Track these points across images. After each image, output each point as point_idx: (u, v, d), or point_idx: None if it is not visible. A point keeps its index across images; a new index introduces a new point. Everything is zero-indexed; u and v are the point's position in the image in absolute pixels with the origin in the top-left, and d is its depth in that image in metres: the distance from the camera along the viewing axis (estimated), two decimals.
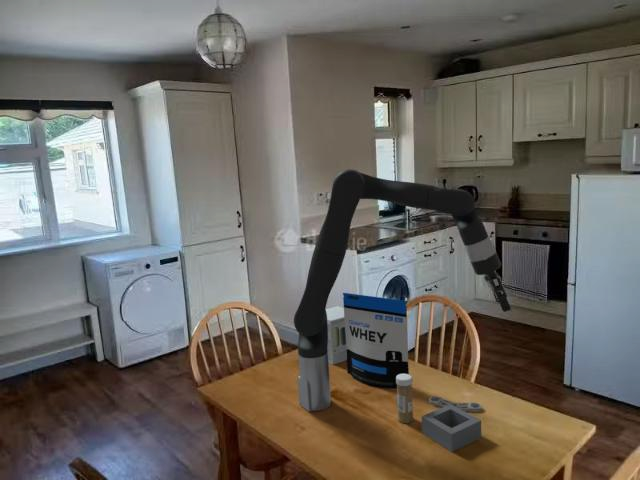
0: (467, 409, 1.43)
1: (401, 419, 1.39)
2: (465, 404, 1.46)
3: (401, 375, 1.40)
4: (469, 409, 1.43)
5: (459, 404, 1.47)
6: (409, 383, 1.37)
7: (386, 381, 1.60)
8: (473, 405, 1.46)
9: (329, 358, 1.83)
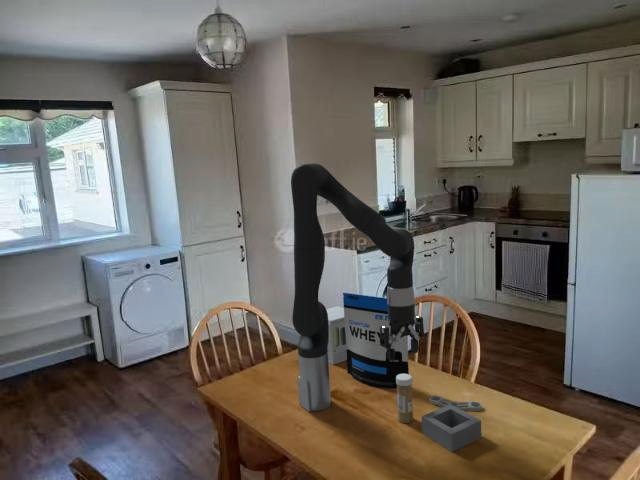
0: (467, 408, 1.44)
1: (401, 419, 1.39)
2: (465, 403, 1.47)
3: (401, 375, 1.40)
4: (469, 408, 1.43)
5: (459, 403, 1.47)
6: (409, 383, 1.37)
7: (386, 381, 1.60)
8: (473, 404, 1.46)
9: (329, 358, 1.83)
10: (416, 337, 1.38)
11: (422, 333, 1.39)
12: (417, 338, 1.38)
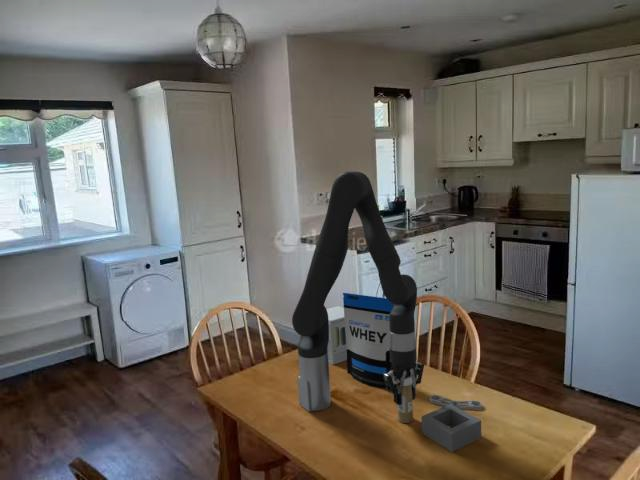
0: (468, 407, 1.44)
1: (401, 419, 1.39)
2: (465, 402, 1.47)
3: None
4: (470, 407, 1.44)
5: (459, 402, 1.48)
6: (409, 383, 1.37)
7: None
8: (473, 403, 1.47)
9: (329, 358, 1.83)
10: (413, 384, 1.39)
11: (419, 380, 1.40)
12: (414, 385, 1.40)
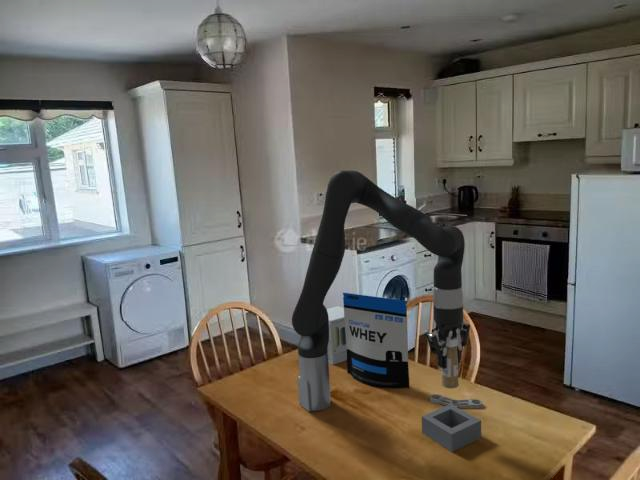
0: (468, 405, 1.45)
1: (445, 384, 1.28)
2: (466, 401, 1.48)
3: None
4: (470, 405, 1.45)
5: (460, 401, 1.48)
6: (455, 344, 1.26)
7: (386, 381, 1.60)
8: (473, 401, 1.48)
9: (329, 358, 1.83)
10: (459, 346, 1.28)
11: (465, 342, 1.29)
12: (459, 348, 1.28)
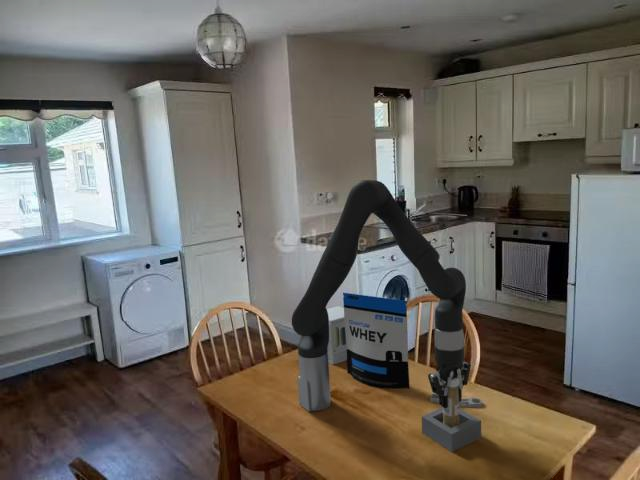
0: (469, 405, 1.45)
1: (447, 423, 1.30)
2: (466, 400, 1.49)
3: None
4: (471, 404, 1.45)
5: None
6: (456, 384, 1.27)
7: (386, 381, 1.60)
8: (473, 400, 1.48)
9: (329, 358, 1.83)
10: (460, 385, 1.30)
11: (466, 381, 1.31)
12: (460, 387, 1.30)
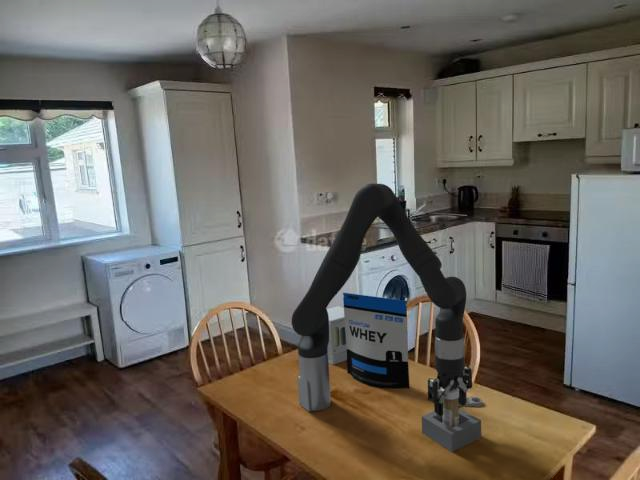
0: (469, 404, 1.46)
1: None
2: (466, 399, 1.49)
3: None
4: (471, 404, 1.46)
5: None
6: (456, 396, 1.28)
7: (386, 381, 1.60)
8: (473, 399, 1.49)
9: (329, 358, 1.83)
10: (464, 389, 1.31)
11: (470, 385, 1.32)
12: (465, 390, 1.31)
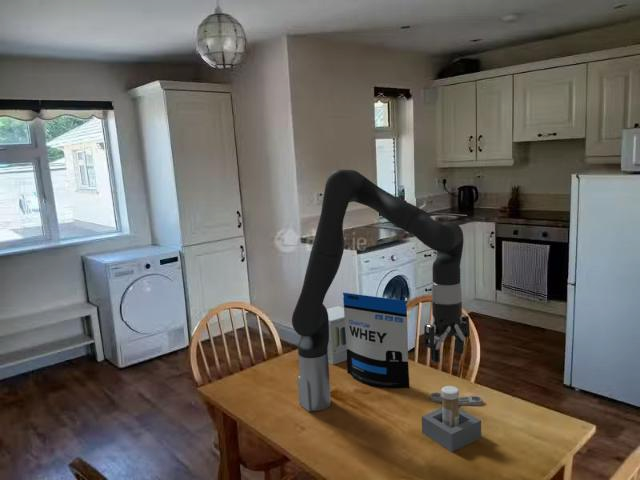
0: (469, 403, 1.47)
1: None
2: (466, 398, 1.50)
3: (447, 388, 1.30)
4: (471, 402, 1.46)
5: (460, 398, 1.50)
6: (456, 396, 1.28)
7: (386, 381, 1.60)
8: (473, 398, 1.49)
9: (329, 358, 1.83)
10: (461, 337, 1.29)
11: (468, 333, 1.30)
12: (462, 338, 1.29)
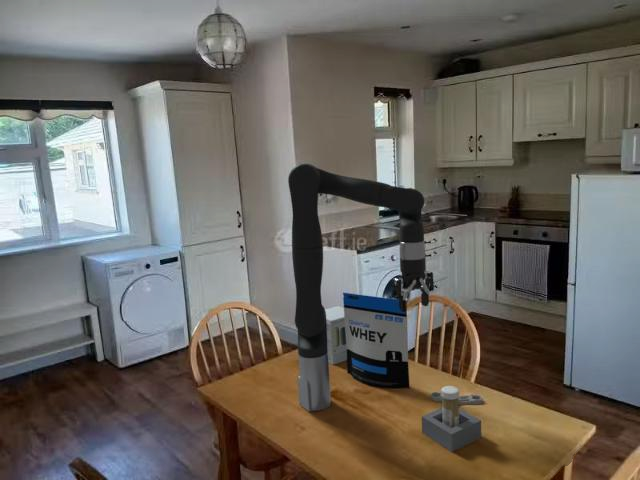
0: (469, 401, 1.47)
1: None
2: (466, 397, 1.50)
3: (447, 388, 1.30)
4: (471, 401, 1.47)
5: (460, 397, 1.50)
6: (456, 396, 1.28)
7: (386, 381, 1.60)
8: (473, 397, 1.50)
9: (329, 358, 1.83)
10: (426, 291, 1.46)
11: (432, 287, 1.47)
12: (427, 292, 1.47)
